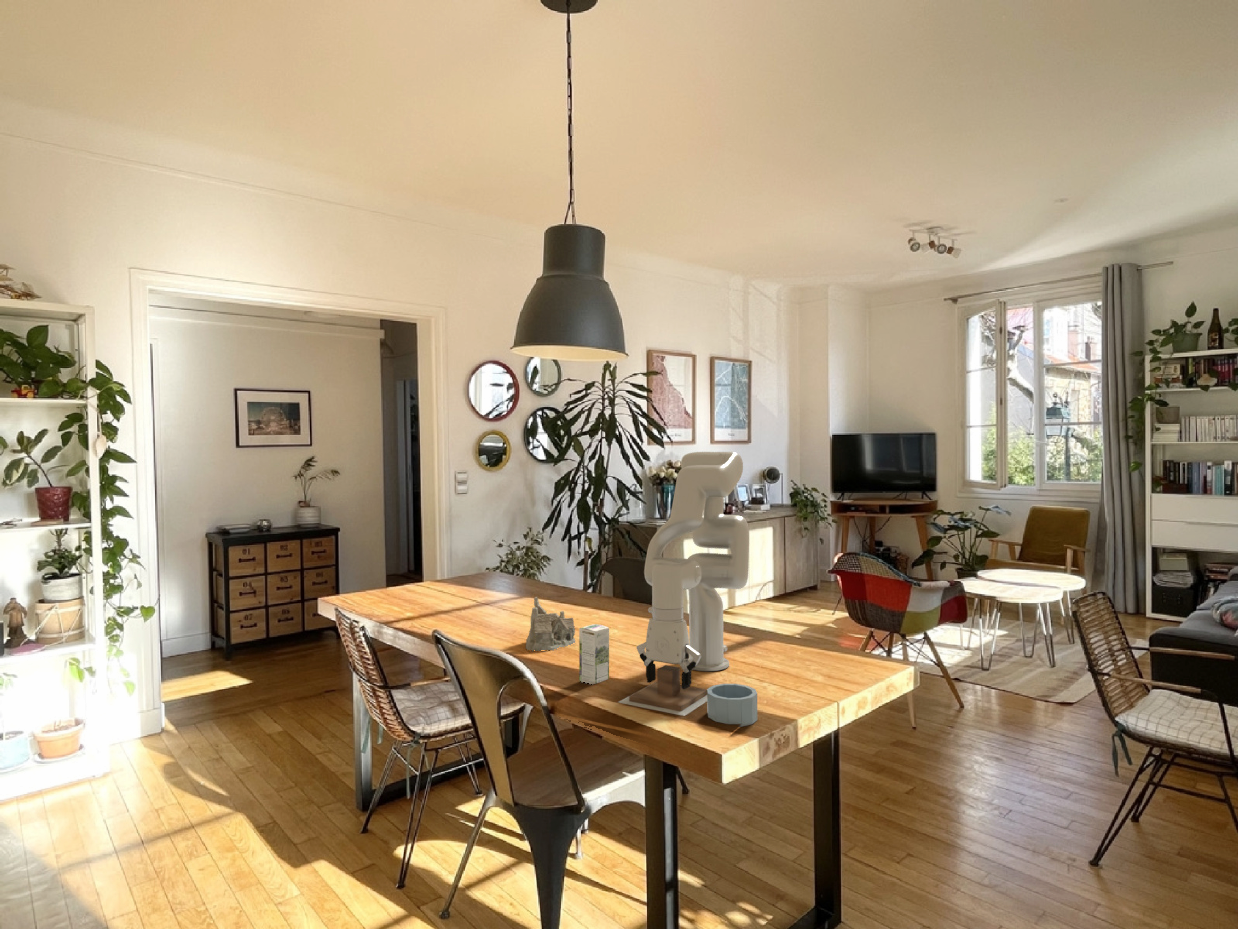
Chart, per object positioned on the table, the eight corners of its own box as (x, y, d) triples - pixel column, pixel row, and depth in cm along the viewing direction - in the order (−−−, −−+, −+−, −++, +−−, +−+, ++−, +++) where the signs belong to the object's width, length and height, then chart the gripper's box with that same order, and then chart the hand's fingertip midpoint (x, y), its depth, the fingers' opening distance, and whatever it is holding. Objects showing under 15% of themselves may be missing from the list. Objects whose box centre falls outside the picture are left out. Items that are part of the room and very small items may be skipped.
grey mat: (655, 684, 195) (655, 682, 195) (718, 696, 186) (718, 693, 186) (617, 704, 180) (617, 702, 180) (684, 718, 170) (684, 715, 170)
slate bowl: (720, 706, 178) (720, 681, 178) (764, 714, 172) (764, 688, 172) (699, 720, 169) (699, 694, 169) (745, 730, 163) (744, 702, 163)
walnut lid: (658, 685, 193) (657, 657, 192) (707, 694, 185) (707, 665, 185) (629, 701, 181) (628, 671, 181) (680, 711, 173) (680, 680, 173)
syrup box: (593, 676, 202) (592, 623, 202) (610, 680, 199) (609, 626, 198) (579, 682, 198) (578, 627, 198) (595, 686, 194) (595, 630, 194)
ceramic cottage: (521, 651, 228) (524, 602, 228) (529, 639, 245) (531, 593, 245) (572, 654, 228) (575, 604, 228) (576, 642, 244) (579, 596, 245)
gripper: (629, 613, 184) (630, 683, 184) (692, 621, 175) (693, 694, 175) (645, 607, 190) (645, 675, 190) (707, 615, 181) (707, 686, 181)
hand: (668, 684), depth 183 cm, fingers open, 9 cm apart
